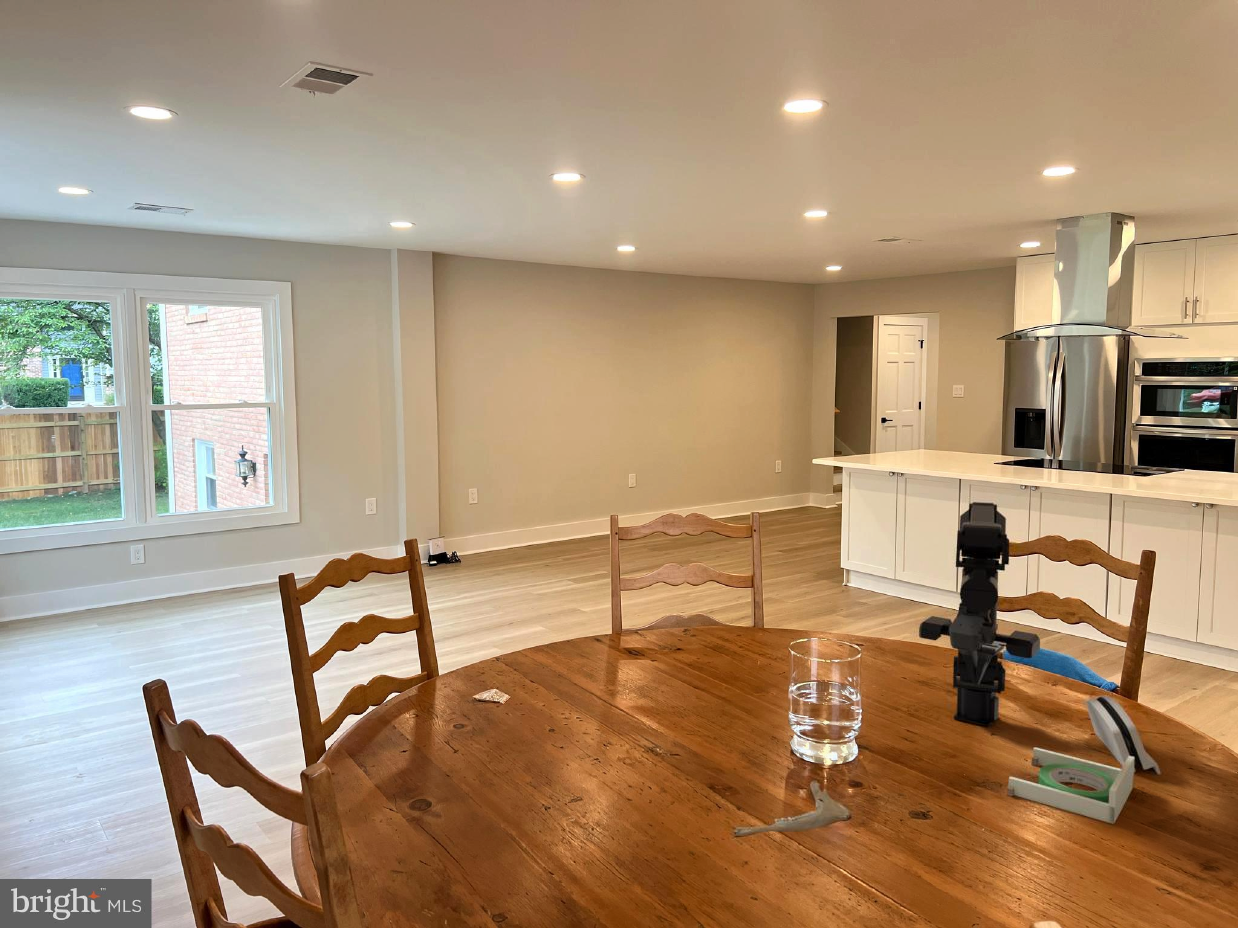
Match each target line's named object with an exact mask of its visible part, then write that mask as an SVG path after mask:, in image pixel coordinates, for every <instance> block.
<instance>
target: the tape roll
mask: <svg viewBox="0 0 1238 928" xmlns="http://www.w3.org/2000/svg"><path fill="white" fill-rule="evenodd" d="M1037 776H1038V779H1037V784H1040V785H1043V786H1047V787H1051V788H1054V789H1058V790H1061V791H1065V792H1069V793H1072V794H1076V795H1079V796H1083V797H1086V798H1090V799H1094V800H1097V801H1101V802H1104V803H1108V804H1109V789H1110V788H1111V786H1112V784H1113V782H1114V780H1113V779H1111V778H1110V777H1108V776H1107V775H1105V774H1103V773H1101V772H1098V771H1095V770H1093V769H1090V768H1086V767H1082V766H1078V765H1072V764H1050V765H1046V766H1042V767H1040V769H1039V771H1038V775H1037ZM1061 783H1075V784H1080V785H1083V786H1087V787H1090V788H1093V789H1094V790H1083V789H1077V788H1073V787H1070V786H1069V787H1068V786H1066V785H1064V784H1061Z"/></svg>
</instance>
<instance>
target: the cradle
mask: <svg viewBox="0 0 1238 928" xmlns="http://www.w3.org/2000/svg"><path fill="white" fill-rule="evenodd" d="M1134 759H1135V757H1132V756H1128V758H1127V760H1126V762H1125V763H1124V765H1123V766H1122V767H1121V768H1119V767H1115V766H1111V765H1106V764H1103V763H1099V762H1095V761H1091V760H1087V759H1083V758H1078V757H1074V756H1071V755H1067V754H1064V753H1063V754H1062V753H1059V752H1055V751H1052V750H1046V749H1045V748H1044V749H1043V748H1040V747H1035V746H1034V747H1033V752H1032V757H1031V765H1032V766H1035V767H1037V766H1042V767H1044V766H1046V765H1050V764H1072V765H1078V766H1082V767H1086V768H1090V769H1093V770H1095V771H1098V772H1101V773H1103V774H1105V775H1107V776H1108V777H1110V778H1111V779H1113V780H1114V782H1113V784H1112V786H1111V788H1110V789H1109V804H1108V803H1104V802H1101V801H1097V800H1094V799H1090V798H1086V797H1083V796H1079V795H1076V794H1072V793H1069V792H1065V791H1061V790H1058V789H1054V788H1051V787H1047V786H1043V785H1040V784H1038V783H1035V782H1032V781H1028V780H1026V779H1025V780H1024V779H1021V778H1018V777H1014V776H1009V777H1008V786H1006V796H1008V797H1011V798H1012V797H1014V796H1016V797H1020V798H1023V799H1026V800H1030V801H1033V802H1037V803H1040V804H1043V805H1047V806H1050V807H1053V808H1057V809H1060V810H1063V811H1067V812H1071V813H1074V814H1078V815H1082V816H1086V817H1088V818H1092V819H1095V820H1099V821H1102V822H1105V823H1109V824H1113V825H1114V824H1115V823H1116V820H1117V819H1118V817H1119V816H1120V813H1121V811H1122V810H1123V807H1124V806H1125V803H1126V802H1127V800H1128V797H1129V796H1130V794H1131V792H1132V791H1133V788H1134V777H1135V776H1134V774H1135V772H1134Z"/></svg>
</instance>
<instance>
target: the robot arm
mask: <svg viewBox="0 0 1238 928" xmlns="http://www.w3.org/2000/svg"><path fill="white" fill-rule="evenodd" d="M968 504H969V505H968V509H967V510H966V511H965V512H963V513H962V514H961V515H960V516H959V529H958V530H957V533H956V534H957V536H956V555H955V557H956V558H955V567H956V568H962V571H961V584H960V588H959V589H960V590H959V591H960V592H959V597H960V600H961V602H959V604H958V605H959V606H958V612H957V614H956V616H955V618H954V620H951V619H950V618H945V617H939V616H934V615H931V616H930V617H928V618H927V619H925V620H924V621H922V622H920V624H919V628H918V629H919V630H918V636H919V638H920V639H925V640H931V641H934V642H936V641H937V640H938V639H939V638H941V637H942V635H943V636H946V637H947V636H948V637H949V640H950V646H951V647H952V648H953V649H956V650H957V656H956V655H954V656H953V673H952V674H953V676H952V688H953V689H957V690H956V691H957V692H956V694H957V695H956V696H957V697H956V713H955V714H953V719H955V720H959V721H963V722H966V723H971V724H975V725H979V726H982V727H990V726H991V724H993V723H994V722H995V721H996V720H997V719H998V718H999V703H1000V702H999V701H1000V698H999V696H997V694H1000V695H1001V694H1002V693H1001V692H1005V689H1006V688H1005V687H1006V674H1007V673H1006V671H1007V670H1006V668H1005V667H1004V665H1003V661H1000V660H998V659H999V653H1000V652H1002V651H1003V650H1004V649H1005V650H1006V652H1007V653H1008V654H1009V655H1010V656H1014V657H1017V658H1018V657H1019V658H1024V659H1033V657H1034V656H1035V655H1036V654H1037V653H1039V651H1040V650H1041V639H1040V637H1039V636H1038V635H1037V633H1032V632H1025V631H1020V630H1014V631H1013V632H1012V633H1011V634H1009V635H1008V634H1002V633H997V631H998V630H999V626H998V625H999V624H998V623H997V620H998V619H997V618H998V617H997V615H998V613H997V612H998V608H999V602H1000V601H999V571H1003V572H1004V571H1006V565H1007V566H1009V565H1010V539H1009V538H1008V534H1007V533H1006V530H1007V529H1006V528H1007V527H1006V526H1007V518H1006V517H1005V516H1004V515H1003V514H1002V513H1000V512H999V511H998V504H995V503H993V502H981V501H980V502H979V501H976V502H975V501H973V502H972V503H971V502H970V503H968ZM961 557H962V558H961ZM1000 559H1001V560H1000ZM1000 561H1001V563H1000Z"/></svg>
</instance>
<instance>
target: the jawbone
mask: <svg viewBox="0 0 1238 928" xmlns="http://www.w3.org/2000/svg"><path fill="white" fill-rule="evenodd" d="M820 786H821V784H820V783H818V781H817V780H813V781H811V782H810V790H811V793H812V795H813V798H814V801H815V811H813V810H811V811H807V813H803V814H801V815H800V814H798V815H796V816H792V817H790V816H788V817H787V818H786V817H781V818H774V824H771V825H764V826H752V827H745V826H738V827H735V829H734V831H733V833H734V837H745V836H749V835H753V834H759V833H766V832H801V831H809V830H814V829H818V828H823V827H826V826H829V825H831V824H833V823H836V822H840V821H847V820H848V819H849V818H850V817H851V813H850V811H849V810H848V808H847V807H845V806H844V805H842V804H841V803H839V802H837V801H836V800H834V799H833V798H831V796H830V795H829V794H828V790H827V789H826V788H824V789H823V791H822V790H821V789H820Z"/></svg>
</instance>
